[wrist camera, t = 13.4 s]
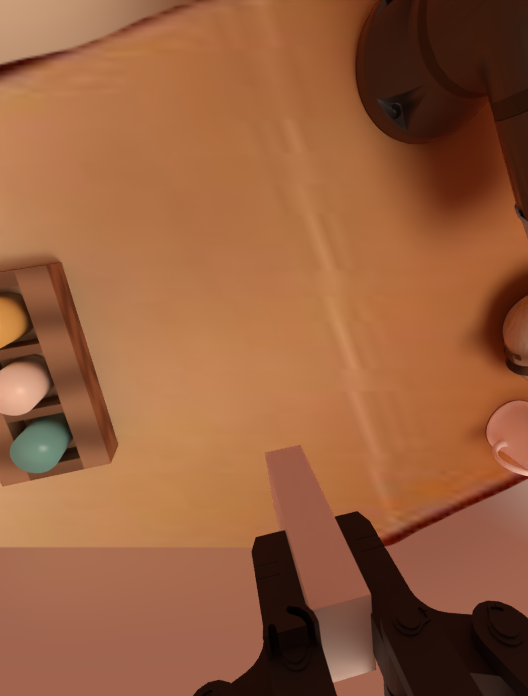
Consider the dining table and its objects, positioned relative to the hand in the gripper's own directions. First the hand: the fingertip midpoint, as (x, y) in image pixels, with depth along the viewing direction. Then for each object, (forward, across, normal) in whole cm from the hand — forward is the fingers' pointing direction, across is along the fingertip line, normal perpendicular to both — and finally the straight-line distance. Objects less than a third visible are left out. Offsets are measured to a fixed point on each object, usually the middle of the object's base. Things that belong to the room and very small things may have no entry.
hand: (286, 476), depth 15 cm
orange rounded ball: (+29, -23, +5) cm, 37 cm away
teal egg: (+29, -23, -9) cm, 38 cm away
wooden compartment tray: (+30, -23, -2) cm, 38 cm away
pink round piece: (+29, -23, -2) cm, 37 cm away
